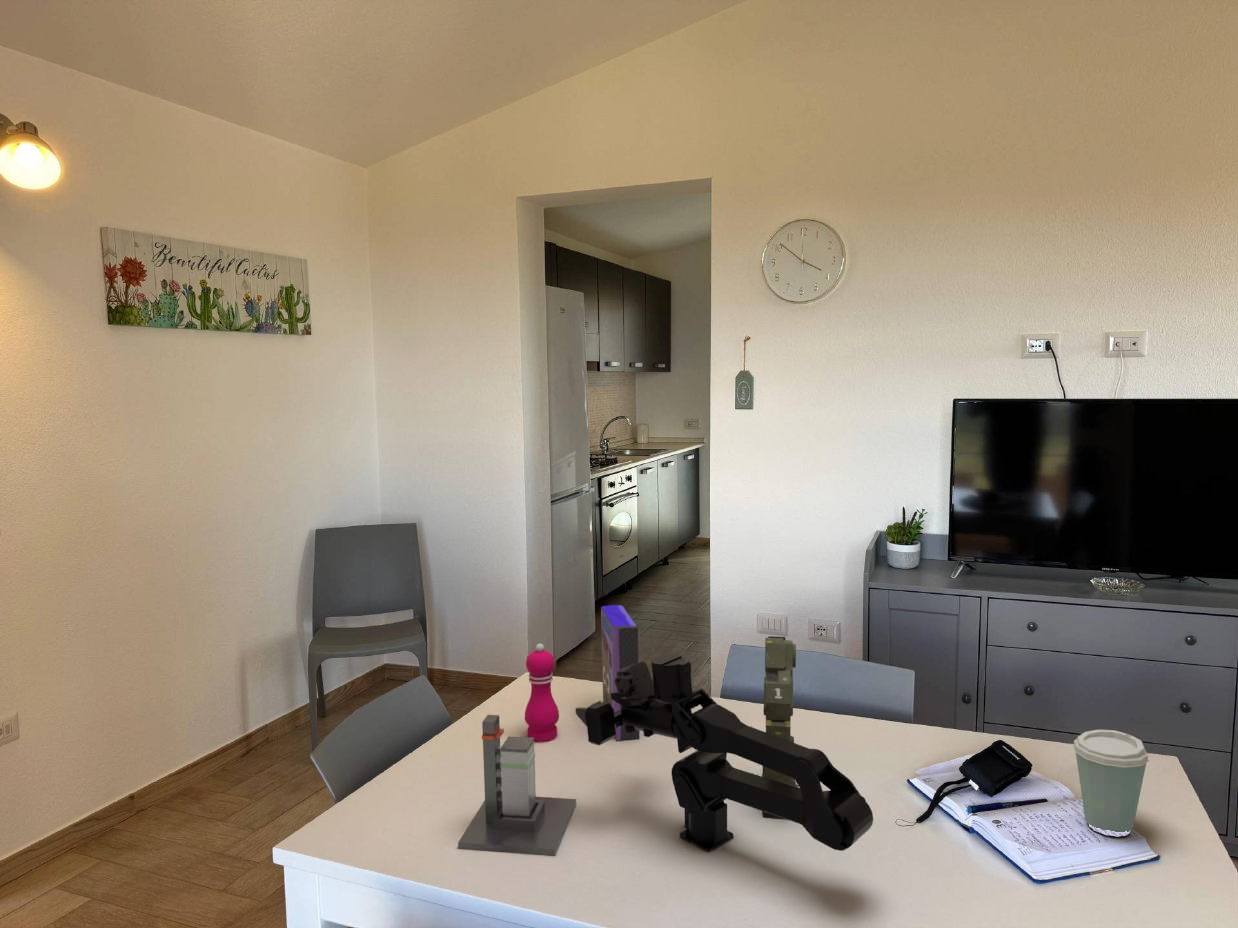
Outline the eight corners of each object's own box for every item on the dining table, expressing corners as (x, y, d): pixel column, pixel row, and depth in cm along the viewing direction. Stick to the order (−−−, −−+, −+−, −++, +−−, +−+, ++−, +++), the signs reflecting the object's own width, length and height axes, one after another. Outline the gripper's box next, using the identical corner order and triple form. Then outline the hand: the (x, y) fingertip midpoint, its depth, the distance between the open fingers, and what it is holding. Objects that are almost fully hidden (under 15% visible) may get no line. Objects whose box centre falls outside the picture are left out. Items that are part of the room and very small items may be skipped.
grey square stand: (576, 804, 148) (574, 703, 146) (555, 855, 132) (552, 742, 130) (489, 798, 151) (485, 699, 149) (458, 848, 135) (454, 737, 133)
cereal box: (603, 708, 190) (601, 605, 188) (623, 707, 191) (622, 604, 189) (616, 741, 173) (614, 628, 171) (639, 739, 174) (637, 626, 172)
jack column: (536, 808, 143) (534, 737, 142) (529, 823, 139) (527, 749, 137) (510, 807, 144) (508, 736, 143) (502, 821, 139) (500, 748, 138)
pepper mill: (520, 732, 178) (517, 641, 176) (552, 726, 181) (550, 636, 179) (531, 745, 172) (528, 651, 170) (564, 739, 175) (562, 645, 173)
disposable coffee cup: (1113, 851, 131) (1117, 759, 129) (1054, 818, 141) (1057, 732, 139) (1160, 836, 135) (1164, 746, 133) (1099, 805, 145) (1103, 721, 143)
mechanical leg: (799, 826, 138) (800, 640, 142) (755, 822, 139) (756, 638, 143) (798, 804, 151) (799, 635, 155) (758, 801, 153) (759, 633, 157)
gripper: (690, 655, 148) (624, 646, 158) (619, 685, 134) (552, 673, 145) (695, 717, 148) (629, 704, 159) (625, 753, 134) (558, 736, 145)
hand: (594, 703), depth 152 cm, fingers open, 9 cm apart
